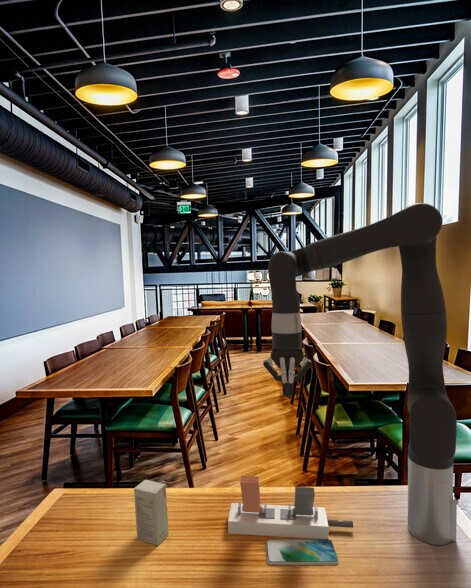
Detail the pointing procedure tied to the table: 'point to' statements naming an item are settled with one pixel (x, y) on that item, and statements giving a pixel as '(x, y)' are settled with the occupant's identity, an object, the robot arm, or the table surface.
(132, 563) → the table surface
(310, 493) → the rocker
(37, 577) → the table surface
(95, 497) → the table surface
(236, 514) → the power strip
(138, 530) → the skincare box
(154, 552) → the table surface
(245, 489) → the bar
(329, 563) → the smartphone
